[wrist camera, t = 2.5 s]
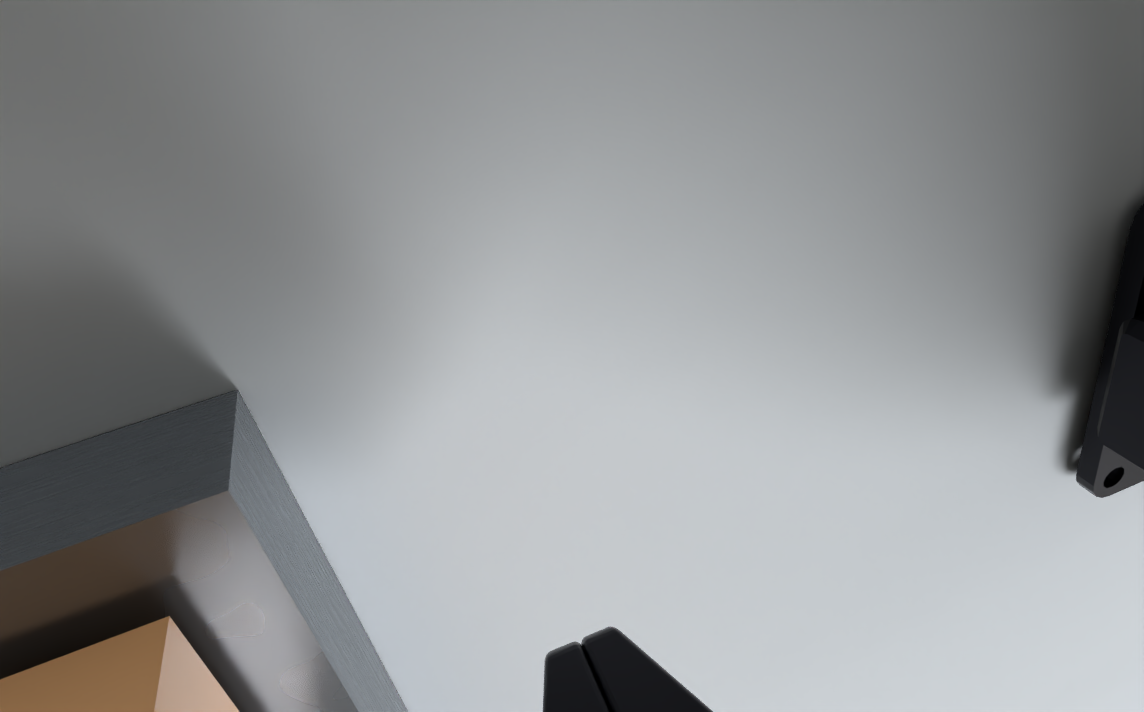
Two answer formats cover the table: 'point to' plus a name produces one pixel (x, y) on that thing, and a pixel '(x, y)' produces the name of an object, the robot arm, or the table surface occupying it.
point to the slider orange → (121, 677)
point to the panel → (182, 562)
